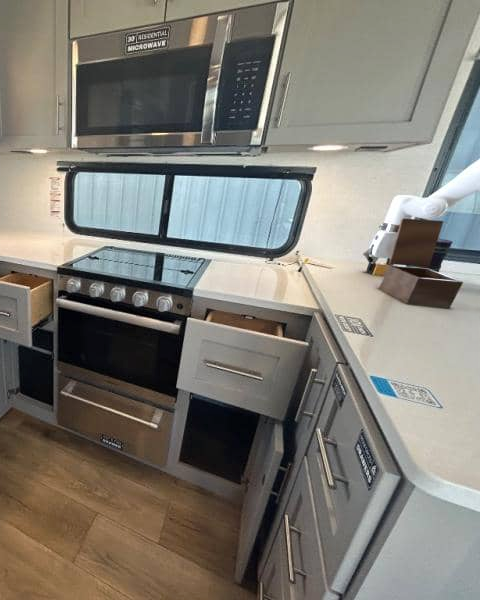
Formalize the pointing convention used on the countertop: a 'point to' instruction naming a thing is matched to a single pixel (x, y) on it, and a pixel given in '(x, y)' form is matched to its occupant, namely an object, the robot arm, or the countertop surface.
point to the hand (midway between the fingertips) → (376, 272)
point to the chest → (420, 286)
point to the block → (380, 268)
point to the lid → (415, 242)
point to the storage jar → (438, 254)
